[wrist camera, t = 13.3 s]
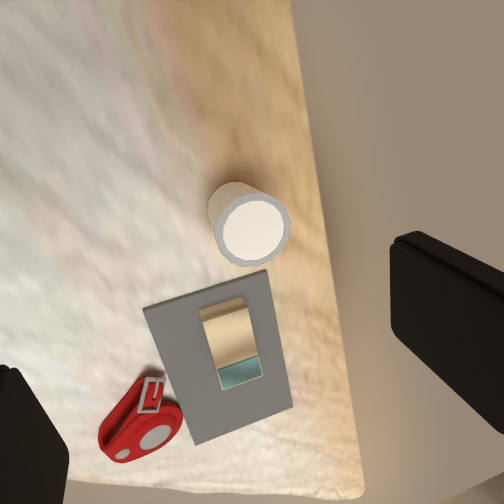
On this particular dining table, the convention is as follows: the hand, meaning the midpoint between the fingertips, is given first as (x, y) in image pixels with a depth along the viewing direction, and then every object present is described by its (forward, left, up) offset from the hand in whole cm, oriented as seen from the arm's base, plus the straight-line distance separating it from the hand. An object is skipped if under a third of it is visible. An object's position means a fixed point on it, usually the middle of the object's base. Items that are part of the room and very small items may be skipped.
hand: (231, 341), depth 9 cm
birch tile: (+2, -22, -28) cm, 35 cm away
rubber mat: (+1, -26, -28) cm, 38 cm away
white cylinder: (+6, -7, -28) cm, 30 cm away
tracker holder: (-10, -29, -29) cm, 42 cm away
